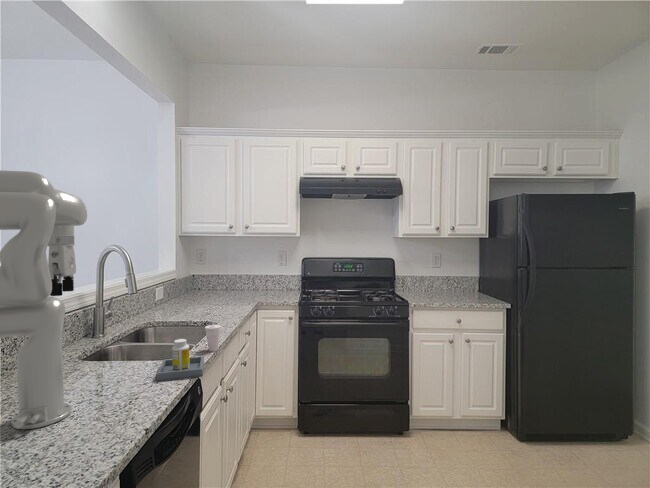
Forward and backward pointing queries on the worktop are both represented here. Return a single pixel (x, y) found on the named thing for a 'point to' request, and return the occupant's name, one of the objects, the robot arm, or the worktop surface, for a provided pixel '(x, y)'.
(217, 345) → the smoothie
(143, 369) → the worktop surface
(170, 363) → the slate tray
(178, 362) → the supplement bottle
